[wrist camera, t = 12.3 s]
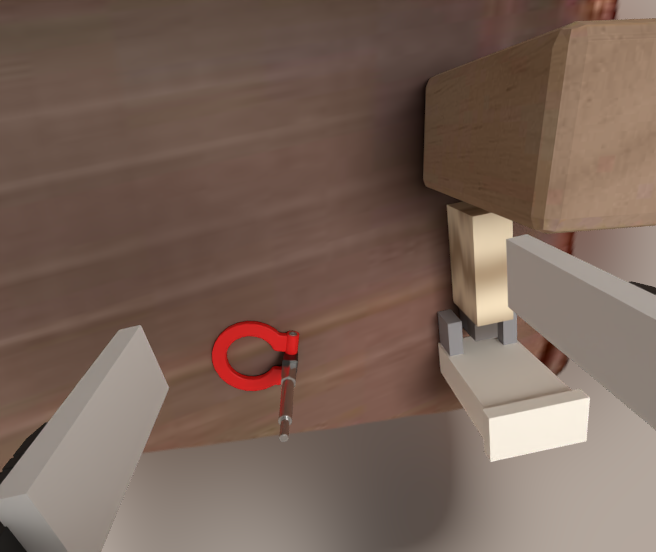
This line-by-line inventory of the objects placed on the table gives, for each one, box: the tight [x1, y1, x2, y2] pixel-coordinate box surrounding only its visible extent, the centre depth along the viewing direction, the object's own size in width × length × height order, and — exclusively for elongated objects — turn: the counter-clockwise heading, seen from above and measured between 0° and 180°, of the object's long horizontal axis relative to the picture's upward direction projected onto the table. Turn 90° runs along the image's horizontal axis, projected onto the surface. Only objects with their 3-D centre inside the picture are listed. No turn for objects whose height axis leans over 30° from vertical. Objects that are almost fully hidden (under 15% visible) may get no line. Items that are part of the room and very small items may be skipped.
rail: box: [447, 201, 513, 341], centre depth 40 cm, size 14×4×6 cm, turn 10°
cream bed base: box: [438, 309, 590, 462], centre depth 40 cm, size 8×9×13 cm
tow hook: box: [212, 321, 299, 442], centre depth 38 cm, size 8×13×9 cm
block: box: [423, 18, 656, 234], centre depth 28 cm, size 10×10×20 cm
